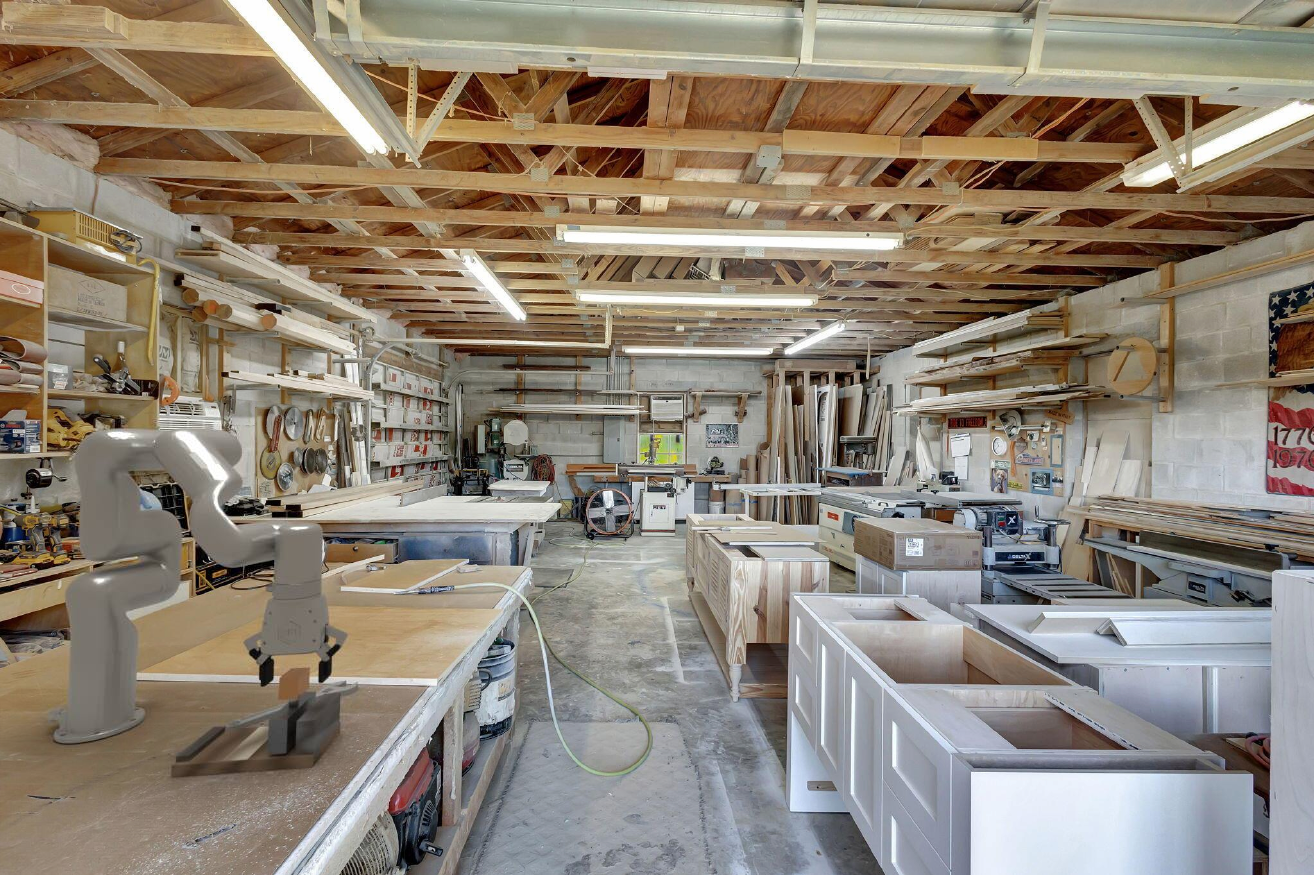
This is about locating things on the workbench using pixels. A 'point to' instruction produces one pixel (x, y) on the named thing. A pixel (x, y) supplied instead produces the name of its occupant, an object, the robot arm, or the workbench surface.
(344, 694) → the adjustable wrench
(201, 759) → the bench vise
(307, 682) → the sliding jaw
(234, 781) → the workbench surface
